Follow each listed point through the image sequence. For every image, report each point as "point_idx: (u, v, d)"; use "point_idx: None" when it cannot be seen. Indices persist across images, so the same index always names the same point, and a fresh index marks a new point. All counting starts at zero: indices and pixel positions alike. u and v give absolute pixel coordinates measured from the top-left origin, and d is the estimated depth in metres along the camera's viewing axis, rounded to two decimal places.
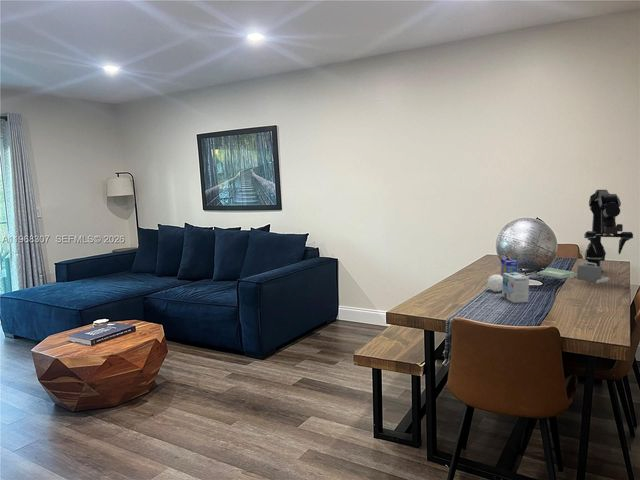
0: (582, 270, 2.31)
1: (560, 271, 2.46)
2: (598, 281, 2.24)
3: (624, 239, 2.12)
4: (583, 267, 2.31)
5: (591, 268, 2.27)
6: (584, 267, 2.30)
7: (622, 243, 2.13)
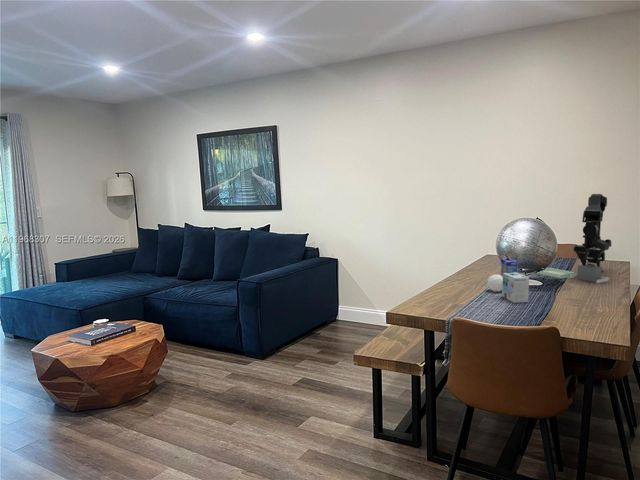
0: (582, 270, 2.31)
1: (560, 271, 2.46)
2: (598, 281, 2.24)
3: (603, 251, 2.30)
4: (583, 267, 2.31)
5: (591, 268, 2.27)
6: (584, 267, 2.30)
7: (599, 254, 2.31)
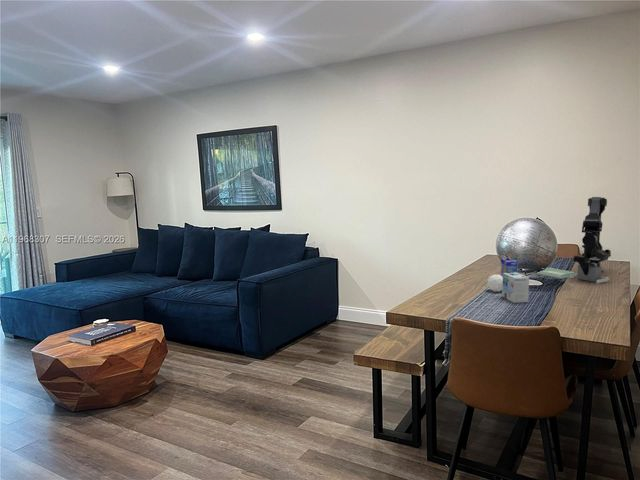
0: (582, 270, 2.31)
1: (560, 271, 2.46)
2: (598, 281, 2.24)
3: (600, 261, 2.30)
4: None
5: (591, 268, 2.27)
6: None
7: None
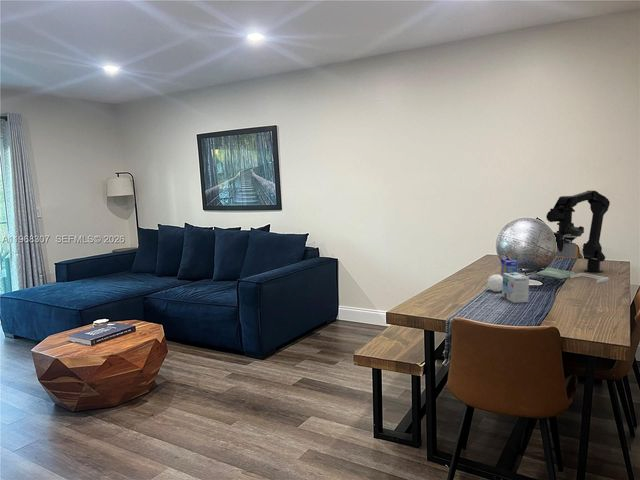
0: None
1: (560, 271, 2.46)
2: (598, 281, 2.24)
3: (574, 238, 2.38)
4: None
5: (565, 244, 2.35)
6: None
7: None
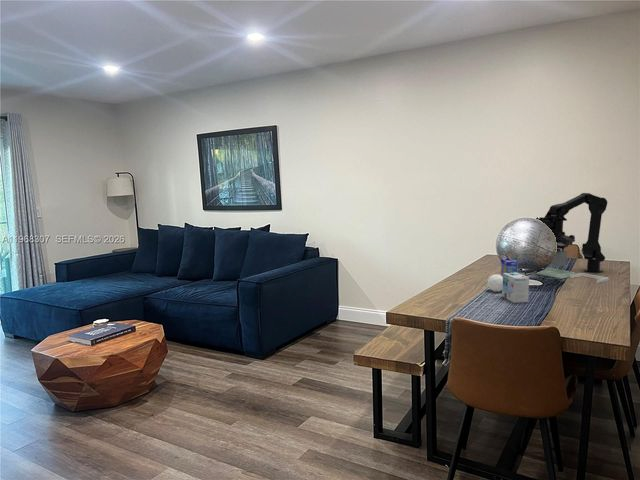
0: None
1: (560, 271, 2.46)
2: (598, 281, 2.24)
3: (565, 246, 2.41)
4: None
5: (557, 253, 2.39)
6: None
7: (562, 250, 2.42)
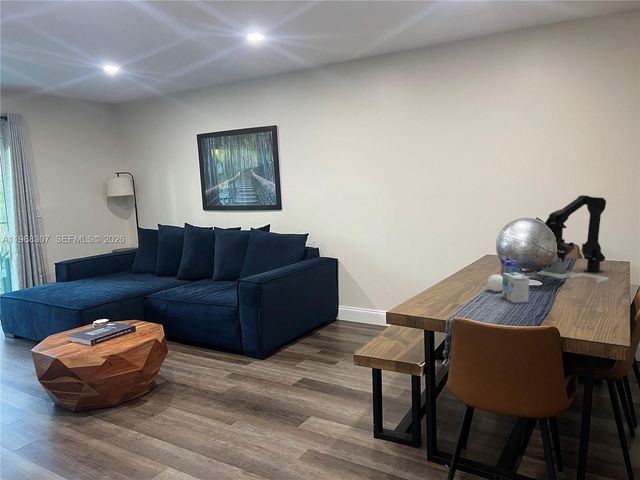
0: None
1: None
2: (598, 281, 2.24)
3: (567, 253, 2.43)
4: None
5: (556, 263, 2.39)
6: None
7: (564, 257, 2.44)
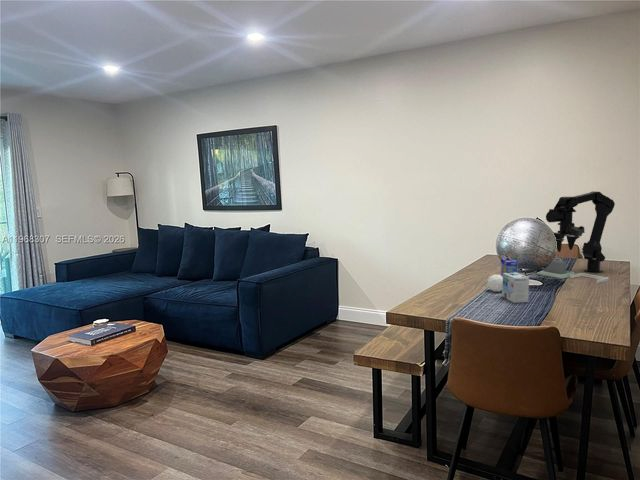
0: None
1: None
2: (598, 281, 2.24)
3: (577, 237, 2.42)
4: None
5: (556, 263, 2.39)
6: None
7: (574, 241, 2.43)
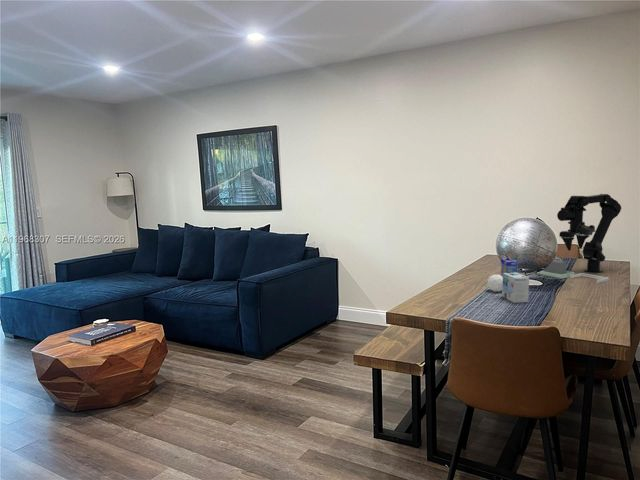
0: None
1: None
2: (598, 281, 2.24)
3: (587, 236, 2.43)
4: None
5: (556, 263, 2.39)
6: None
7: (584, 240, 2.44)
